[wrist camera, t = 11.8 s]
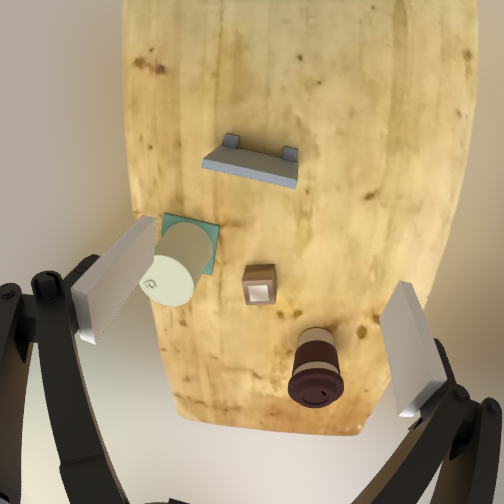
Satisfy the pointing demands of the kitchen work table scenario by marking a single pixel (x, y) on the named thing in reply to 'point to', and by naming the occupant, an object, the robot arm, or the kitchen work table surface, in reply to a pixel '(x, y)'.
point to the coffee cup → (316, 370)
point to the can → (177, 264)
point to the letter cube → (260, 284)
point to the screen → (253, 163)
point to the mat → (208, 227)
